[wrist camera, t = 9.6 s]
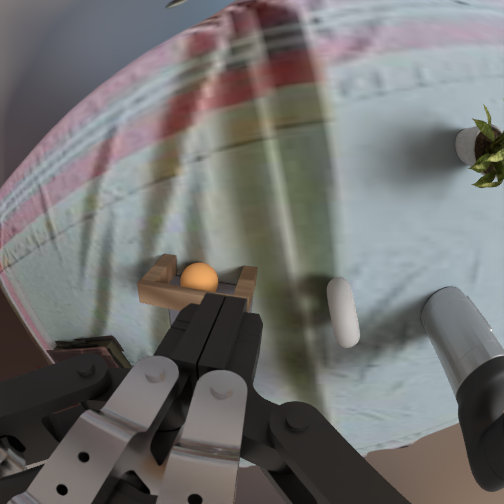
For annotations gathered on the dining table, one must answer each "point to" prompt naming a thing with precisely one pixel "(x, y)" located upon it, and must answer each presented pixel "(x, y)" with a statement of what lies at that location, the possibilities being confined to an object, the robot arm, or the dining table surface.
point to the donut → (343, 312)
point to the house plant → (483, 151)
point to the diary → (92, 350)
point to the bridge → (177, 297)
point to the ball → (200, 277)
